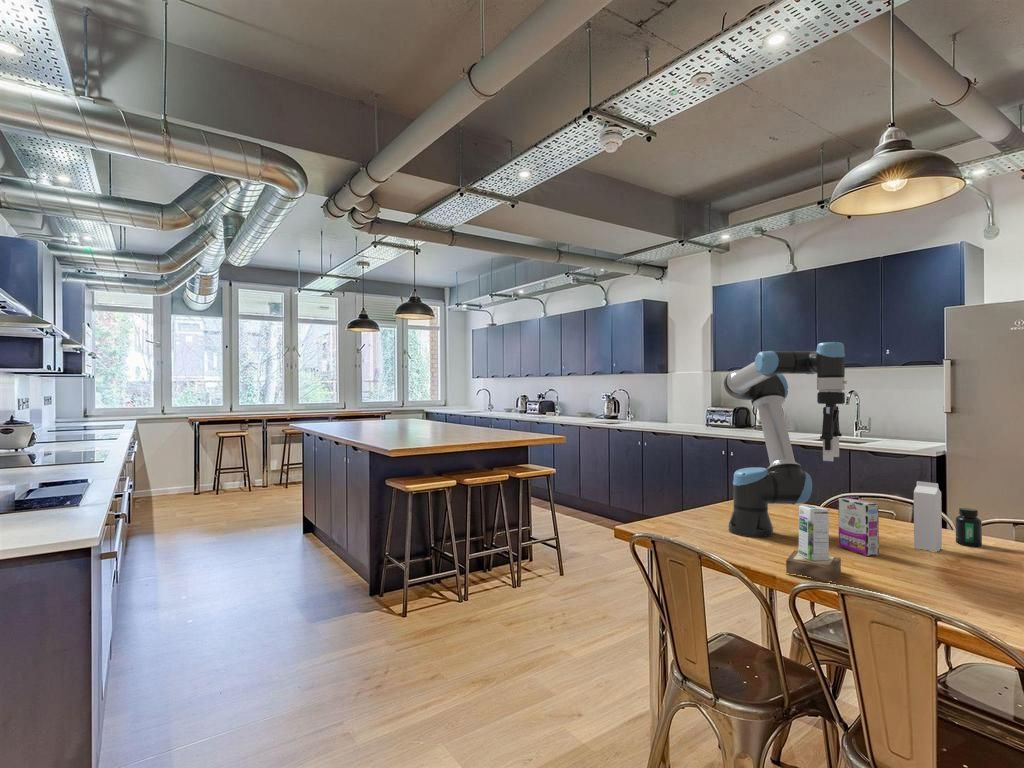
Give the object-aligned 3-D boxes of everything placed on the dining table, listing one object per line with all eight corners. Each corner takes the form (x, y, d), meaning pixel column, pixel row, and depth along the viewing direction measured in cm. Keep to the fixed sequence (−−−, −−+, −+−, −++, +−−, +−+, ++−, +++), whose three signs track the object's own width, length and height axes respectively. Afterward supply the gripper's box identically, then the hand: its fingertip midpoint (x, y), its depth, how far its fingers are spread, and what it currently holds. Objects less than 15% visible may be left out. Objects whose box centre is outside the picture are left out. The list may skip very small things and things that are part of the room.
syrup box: (797, 555, 158) (797, 505, 158) (817, 554, 158) (816, 504, 158) (810, 561, 152) (809, 509, 152) (830, 560, 152) (829, 509, 153)
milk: (936, 553, 175) (935, 484, 175) (913, 548, 180) (913, 481, 180) (942, 549, 178) (941, 482, 179) (920, 545, 183) (919, 480, 183)
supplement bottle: (974, 548, 180) (973, 512, 180) (951, 543, 186) (950, 508, 186) (986, 546, 182) (986, 510, 182) (963, 541, 189) (963, 506, 189)
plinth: (786, 574, 154) (786, 559, 154) (794, 563, 163) (794, 549, 163) (835, 583, 147) (835, 567, 147) (840, 571, 156) (840, 556, 156)
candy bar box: (880, 555, 172) (879, 503, 172) (867, 556, 170) (866, 504, 170) (849, 546, 182) (849, 497, 183) (837, 547, 181) (837, 497, 181)
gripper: (839, 391, 159) (840, 463, 159) (849, 391, 179) (849, 455, 178) (810, 391, 164) (811, 461, 163) (823, 391, 183) (823, 454, 183)
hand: (831, 458), depth 171 cm, fingers open, 13 cm apart
